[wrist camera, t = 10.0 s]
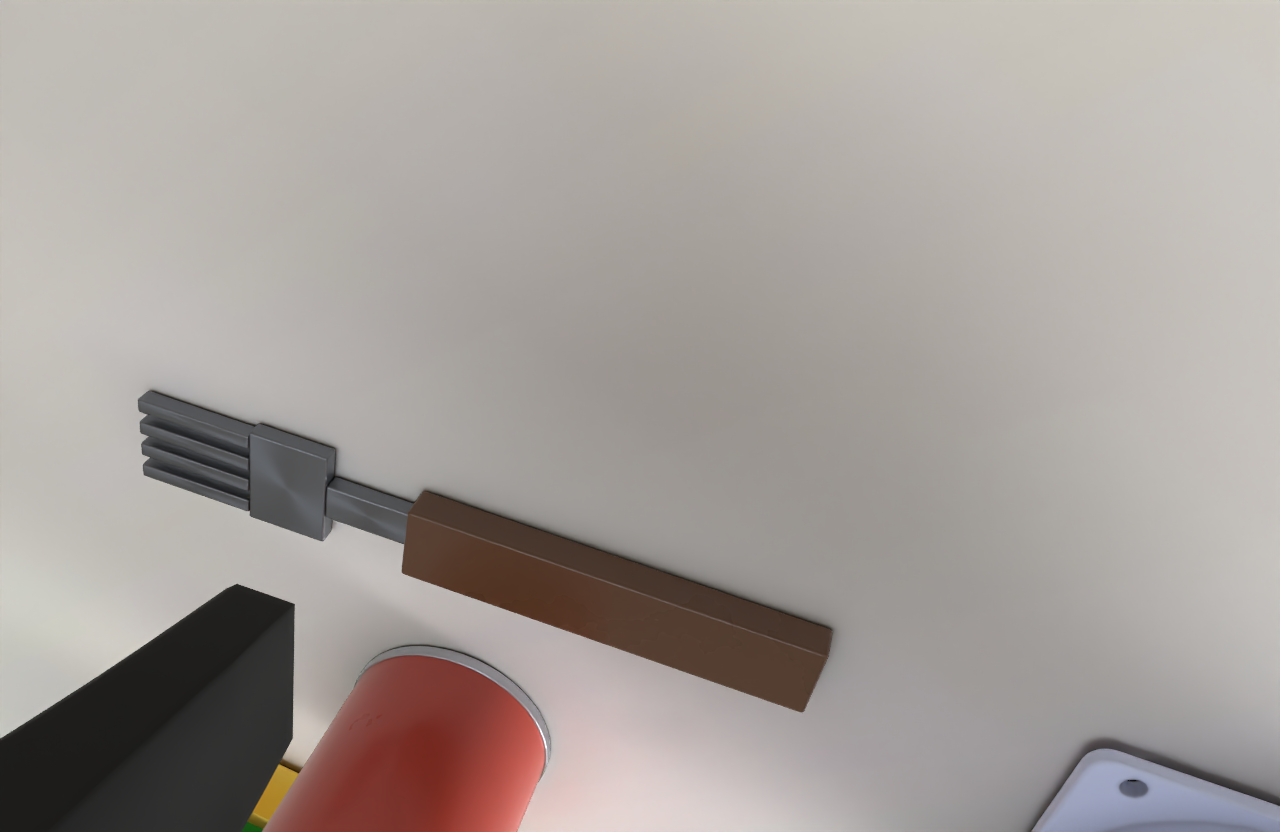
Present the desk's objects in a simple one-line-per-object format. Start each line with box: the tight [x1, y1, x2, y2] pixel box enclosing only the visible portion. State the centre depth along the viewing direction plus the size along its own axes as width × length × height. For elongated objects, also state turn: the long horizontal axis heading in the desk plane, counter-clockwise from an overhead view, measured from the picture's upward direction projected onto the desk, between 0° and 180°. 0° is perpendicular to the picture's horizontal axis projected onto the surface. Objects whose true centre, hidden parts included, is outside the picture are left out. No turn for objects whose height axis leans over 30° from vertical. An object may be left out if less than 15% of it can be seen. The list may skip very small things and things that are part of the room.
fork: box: [138, 391, 832, 712], centre depth 24 cm, size 15×2×1 cm, turn 78°
